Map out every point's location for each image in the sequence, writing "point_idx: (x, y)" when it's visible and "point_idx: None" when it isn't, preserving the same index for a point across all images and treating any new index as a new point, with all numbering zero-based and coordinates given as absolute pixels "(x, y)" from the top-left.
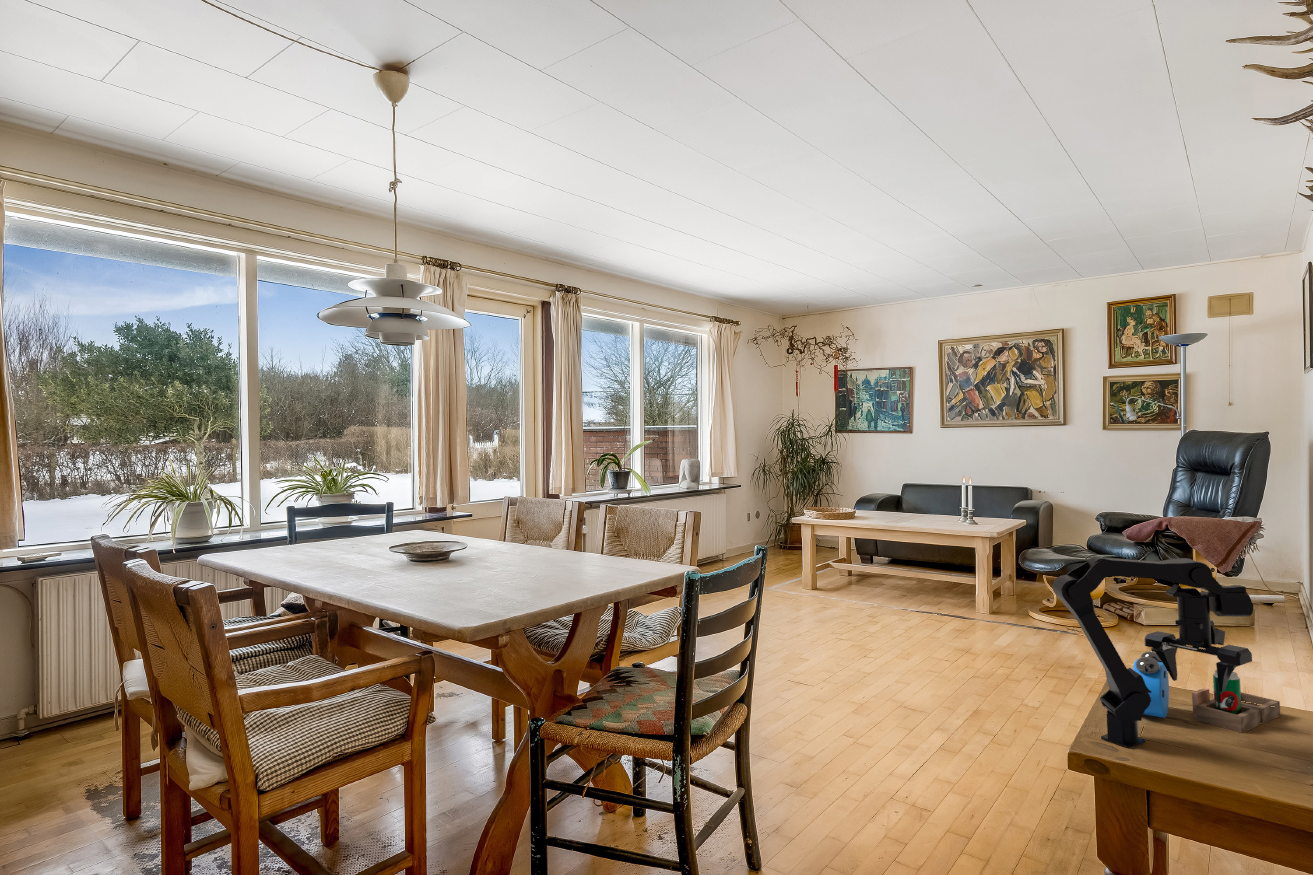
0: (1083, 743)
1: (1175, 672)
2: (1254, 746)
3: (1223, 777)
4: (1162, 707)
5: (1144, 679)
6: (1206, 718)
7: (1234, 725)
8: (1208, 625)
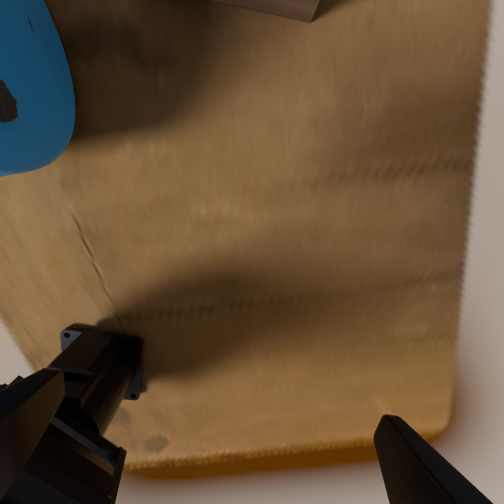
0: None
1: (2, 444)
2: (358, 153)
3: (324, 406)
4: (58, 145)
5: None
6: None
7: (291, 7)
8: None
